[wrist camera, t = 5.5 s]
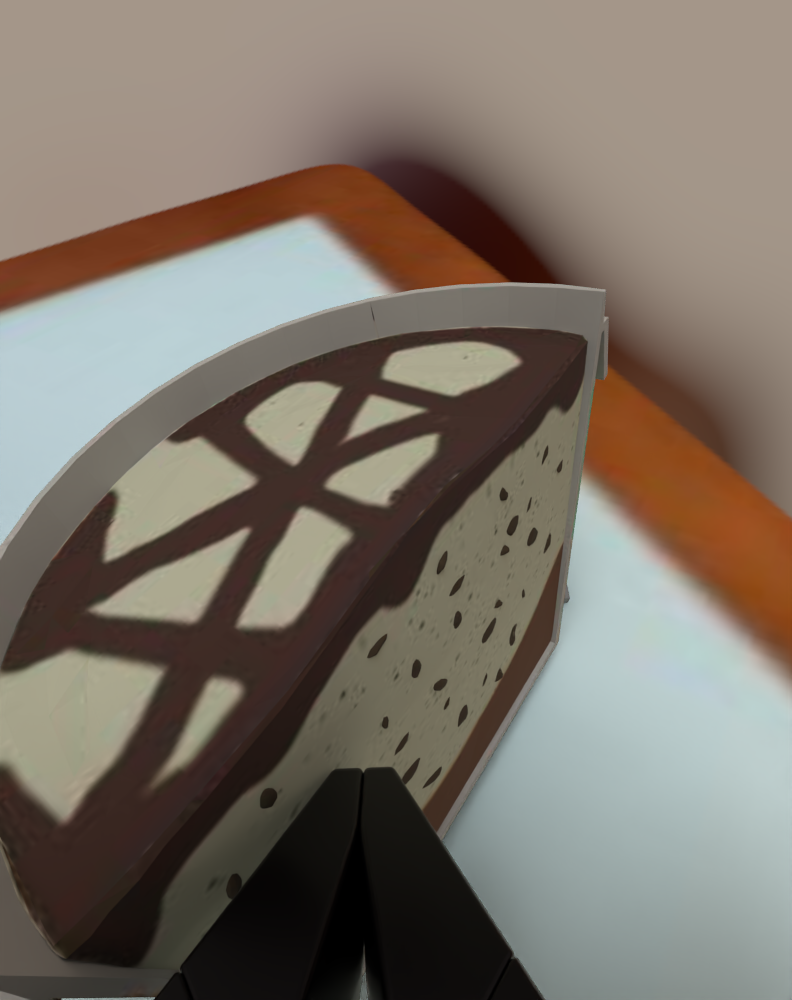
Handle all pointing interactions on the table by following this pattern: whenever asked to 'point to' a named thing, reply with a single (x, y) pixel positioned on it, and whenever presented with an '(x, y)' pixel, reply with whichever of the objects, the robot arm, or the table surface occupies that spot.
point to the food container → (278, 609)
